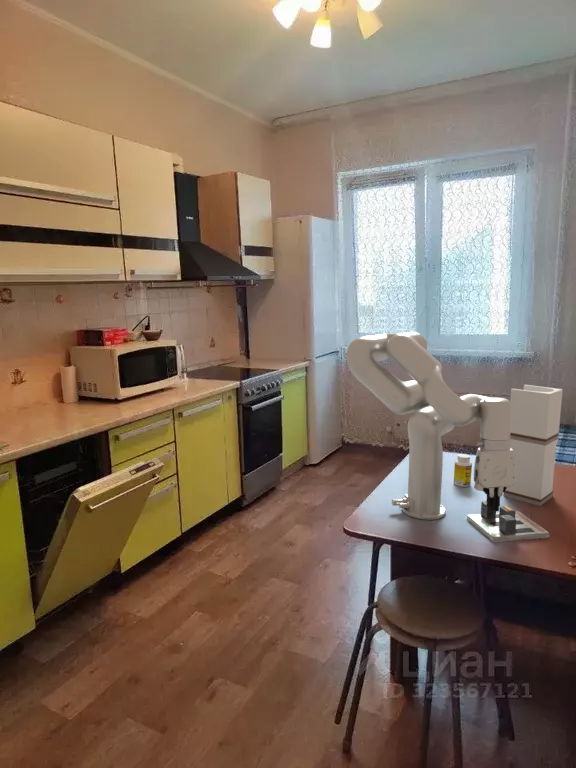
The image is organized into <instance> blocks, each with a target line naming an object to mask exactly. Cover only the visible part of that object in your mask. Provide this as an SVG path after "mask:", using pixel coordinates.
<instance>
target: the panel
mask: <svg viewBox="0 0 576 768" xmlns="http://www.w3.org/2000/svg"><path fill="white" fill-rule="evenodd" d="M480 503H481V504H480V506H481V507H480V513H475V514H473V513H472V514H467V516H466V520H467V521H468V522H469V523H470V524H471V525H472V526H474V528H475V529H477V530H478V531H479V532H480V533H482V534H483V535H484V536H485V537H486V538H487V539H488V540H489V541H490V542H492V543H500V542H501V543H502V542H513V541H525V540H540V539H539V538H541V539H548V538H547V537H550V532H549V531H547V530H546V529H545V528H543V527H541V525H539V524H537V523H536V522H535V521H533V520H532V519H530V518H528V517H527V515H525V514H523V513H521V511H517V510H515V511H516V514H515V518H513V517H512V516H511V515H500V521H499V512H497V511H491V510H490V509H489V508H488V507H487V500H485V501H484V500H483V501H481V502H480Z"/></svg>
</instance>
